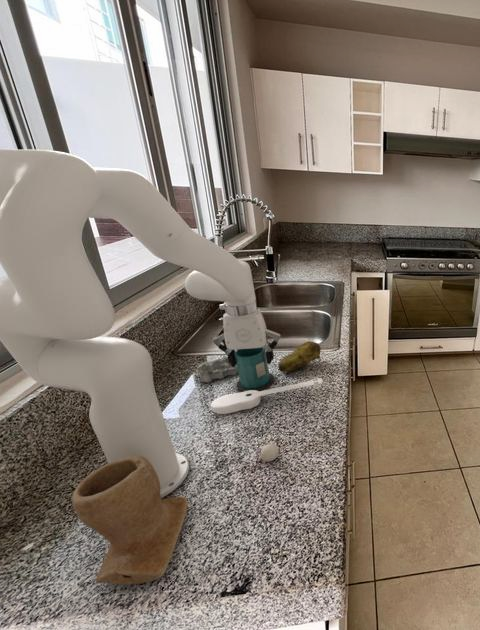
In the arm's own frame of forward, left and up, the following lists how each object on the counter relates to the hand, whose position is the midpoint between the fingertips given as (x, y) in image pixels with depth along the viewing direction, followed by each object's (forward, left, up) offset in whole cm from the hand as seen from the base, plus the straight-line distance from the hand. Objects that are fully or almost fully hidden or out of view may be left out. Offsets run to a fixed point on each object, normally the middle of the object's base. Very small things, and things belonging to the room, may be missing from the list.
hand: (252, 363), depth 98 cm
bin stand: (0, 0, -7) cm, 7 cm away
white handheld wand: (-9, -6, -7) cm, 13 cm away
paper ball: (-31, -10, -5) cm, 33 cm away
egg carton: (+7, +12, -7) cm, 16 cm away
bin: (0, 0, -7) cm, 7 cm away
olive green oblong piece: (+7, -12, -7) cm, 15 cm away
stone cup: (-47, +7, -7) cm, 48 cm away
